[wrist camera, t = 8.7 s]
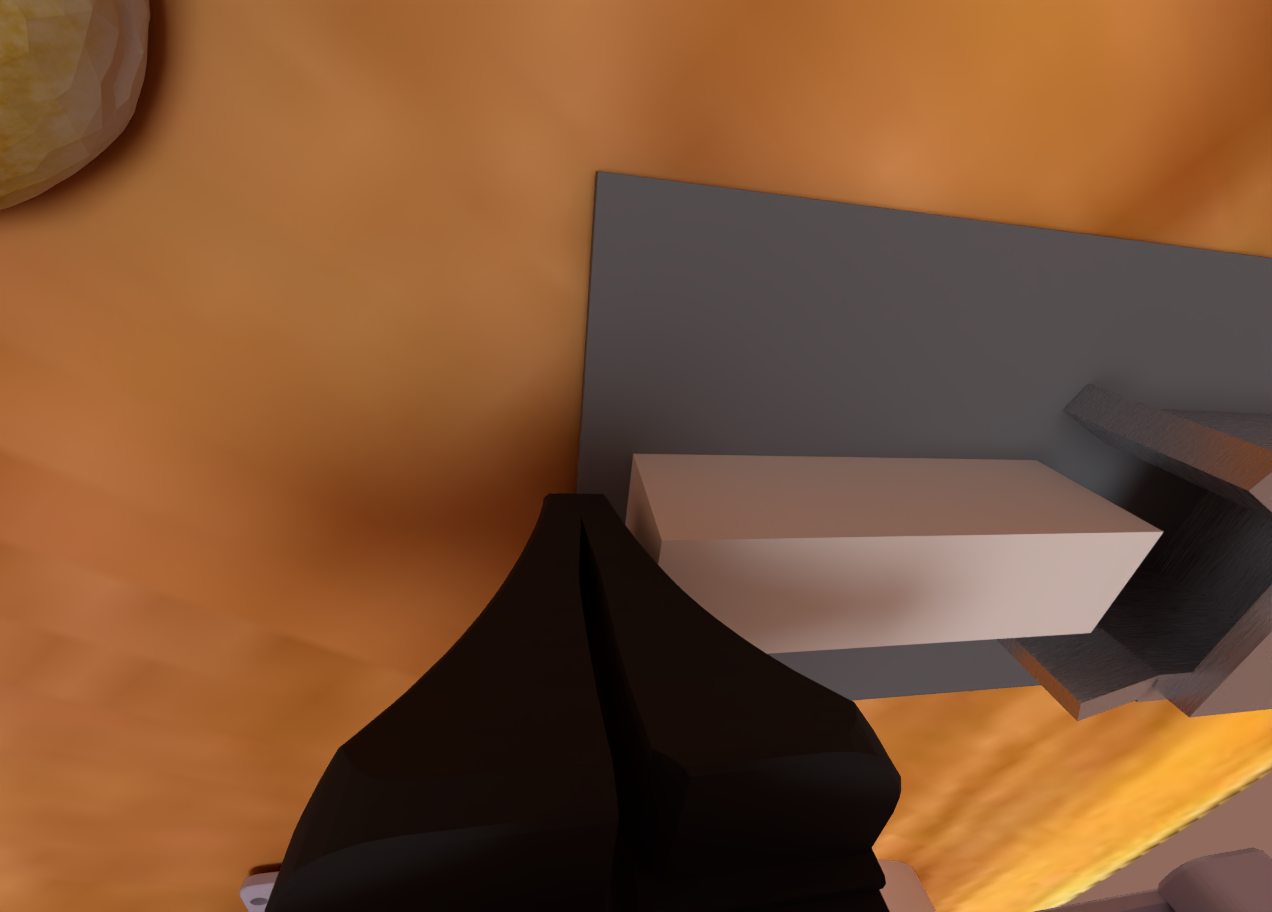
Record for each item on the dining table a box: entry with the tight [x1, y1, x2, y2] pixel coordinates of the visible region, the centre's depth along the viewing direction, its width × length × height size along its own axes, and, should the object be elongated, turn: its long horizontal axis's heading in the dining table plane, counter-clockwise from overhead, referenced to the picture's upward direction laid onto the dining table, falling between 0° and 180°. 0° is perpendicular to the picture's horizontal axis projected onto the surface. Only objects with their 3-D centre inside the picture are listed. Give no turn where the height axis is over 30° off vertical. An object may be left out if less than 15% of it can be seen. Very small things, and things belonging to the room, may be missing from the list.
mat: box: [576, 171, 1272, 700], centre depth 14 cm, size 15×21×1 cm
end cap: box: [996, 384, 1272, 721], centre depth 13 cm, size 8×8×4 cm
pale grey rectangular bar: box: [625, 454, 1163, 654], centre depth 12 cm, size 11×3×3 cm, turn 84°
